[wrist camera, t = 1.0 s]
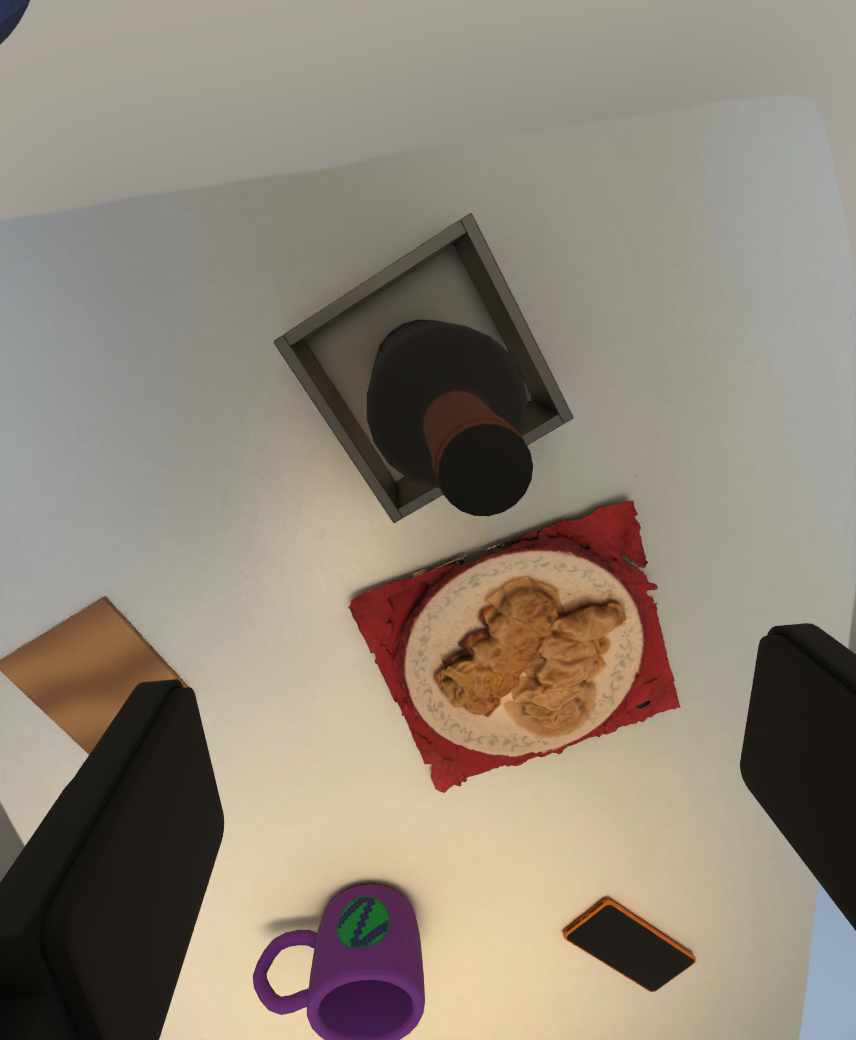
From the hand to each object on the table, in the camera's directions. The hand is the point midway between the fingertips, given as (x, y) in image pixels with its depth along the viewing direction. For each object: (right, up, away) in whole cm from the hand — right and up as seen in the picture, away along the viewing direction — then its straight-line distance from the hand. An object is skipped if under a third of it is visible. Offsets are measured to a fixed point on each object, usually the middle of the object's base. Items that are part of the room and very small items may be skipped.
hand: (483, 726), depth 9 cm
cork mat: (-31, -11, +42) cm, 53 cm away
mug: (-10, -41, +55) cm, 69 cm away
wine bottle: (-1, +15, +35) cm, 38 cm away
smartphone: (+23, -47, +60) cm, 79 cm away
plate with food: (+8, -9, +45) cm, 46 cm away
